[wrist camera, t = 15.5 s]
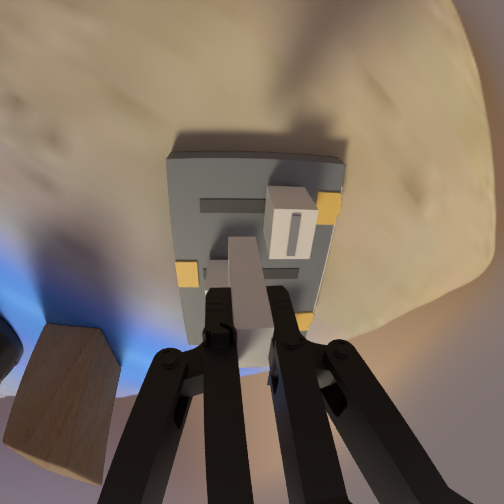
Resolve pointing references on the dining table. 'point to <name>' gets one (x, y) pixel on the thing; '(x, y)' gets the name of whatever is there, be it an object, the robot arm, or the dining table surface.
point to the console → (246, 221)
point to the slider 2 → (289, 222)
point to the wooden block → (66, 403)
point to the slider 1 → (216, 274)
